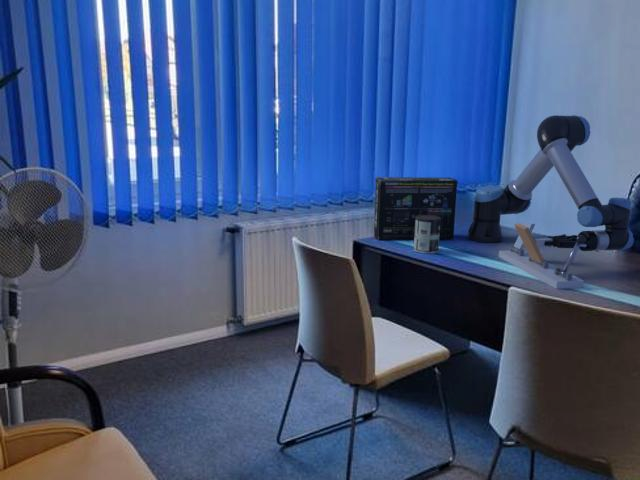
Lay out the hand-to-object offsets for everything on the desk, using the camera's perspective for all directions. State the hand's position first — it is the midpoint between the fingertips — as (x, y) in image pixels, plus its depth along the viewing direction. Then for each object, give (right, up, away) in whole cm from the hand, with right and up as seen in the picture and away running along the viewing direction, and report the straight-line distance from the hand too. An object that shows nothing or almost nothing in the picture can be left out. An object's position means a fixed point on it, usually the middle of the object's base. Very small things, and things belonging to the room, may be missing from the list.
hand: (535, 242), depth 200 cm
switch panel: (+2, -10, +4) cm, 11 cm away
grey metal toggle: (+5, -10, -11) cm, 16 cm away
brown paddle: (+2, -7, +3) cm, 8 cm away
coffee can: (-34, -3, +28) cm, 44 cm away
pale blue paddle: (-1, -3, +17) cm, 17 cm away
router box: (-36, +2, +50) cm, 61 cm away
